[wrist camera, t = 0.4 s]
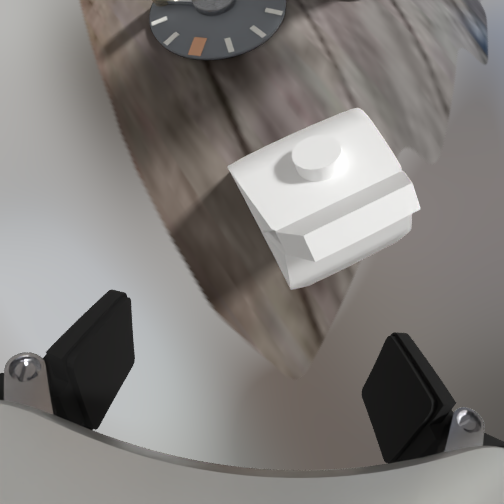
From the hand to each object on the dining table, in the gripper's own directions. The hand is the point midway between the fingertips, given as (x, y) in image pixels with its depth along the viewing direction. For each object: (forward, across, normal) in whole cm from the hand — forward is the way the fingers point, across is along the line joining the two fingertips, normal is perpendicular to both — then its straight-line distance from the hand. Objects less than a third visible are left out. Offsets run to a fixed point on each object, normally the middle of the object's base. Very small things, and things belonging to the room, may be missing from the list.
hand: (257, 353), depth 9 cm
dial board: (+30, +11, -30) cm, 44 cm away
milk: (+30, -4, -4) cm, 31 cm away
